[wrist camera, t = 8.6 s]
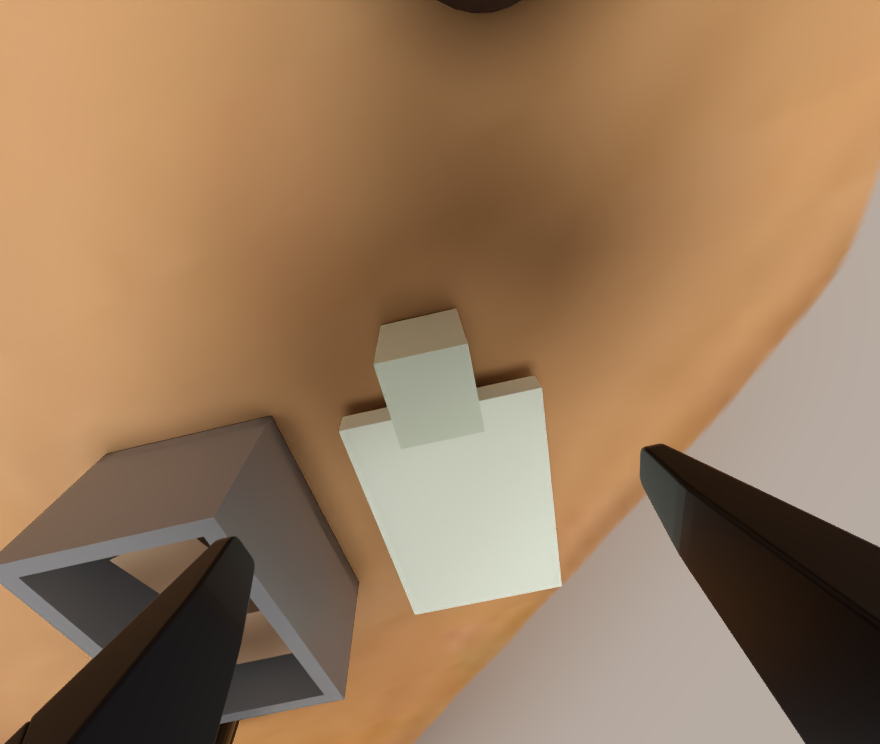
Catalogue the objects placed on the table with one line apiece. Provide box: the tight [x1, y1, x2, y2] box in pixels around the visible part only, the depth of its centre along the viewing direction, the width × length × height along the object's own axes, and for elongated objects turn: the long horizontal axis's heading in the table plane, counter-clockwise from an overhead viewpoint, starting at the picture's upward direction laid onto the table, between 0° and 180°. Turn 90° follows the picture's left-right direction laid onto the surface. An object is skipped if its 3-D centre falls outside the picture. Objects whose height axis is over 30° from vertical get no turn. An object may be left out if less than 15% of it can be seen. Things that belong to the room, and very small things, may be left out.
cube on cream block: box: [339, 309, 562, 615], centre depth 20 cm, size 19×10×4 cm, turn 12°
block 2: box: [236, 598, 292, 664], centre depth 22 cm, size 4×4×4 cm
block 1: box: [109, 537, 210, 594], centre depth 19 cm, size 4×4×4 cm
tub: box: [0, 416, 359, 724], centre depth 20 cm, size 14×9×6 cm, turn 13°
